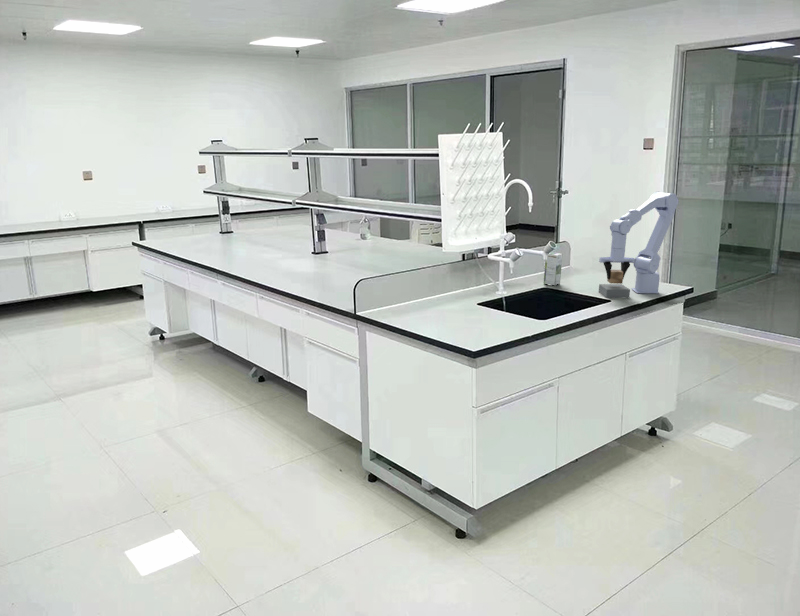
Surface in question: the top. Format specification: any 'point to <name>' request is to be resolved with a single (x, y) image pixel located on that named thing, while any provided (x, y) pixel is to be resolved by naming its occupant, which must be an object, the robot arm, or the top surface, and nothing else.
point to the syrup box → (553, 269)
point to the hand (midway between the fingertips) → (615, 279)
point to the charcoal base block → (614, 290)
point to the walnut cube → (616, 277)
